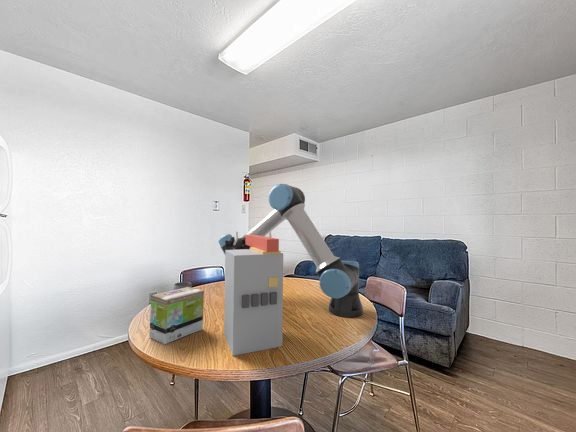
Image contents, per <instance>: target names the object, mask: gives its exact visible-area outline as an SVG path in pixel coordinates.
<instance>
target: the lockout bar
mask: <svg viewBox="0 0 576 432" xmlns="http://www.w3.org/2000/svg"><path fill="white" fill-rule="evenodd" d="M279 239H280V238H274V237H272V238H270V237H266V236H259V235H246V240H245V244H246V245H248V246H251V247H254V248H257V249H260V250H262V251H265V252H279V251H280V248H279V247H280V240H279Z"/></svg>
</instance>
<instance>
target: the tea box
mask: <svg viewBox="0 0 576 432" xmlns="http://www.w3.org/2000/svg"><path fill="white" fill-rule="evenodd" d="M204 292H205V290H202V289H198V288H193V287H192V288H190V287H186V288H181V289H177V290H168V291H163V292H160V293H156V294H152V295H151V297H150V312H149V313H150V315H149V317H150V318H149V335H148V336H149V338H151V339H153V340H154V341H157V342H159V343H161V344H164V345H168V344H169V343H171V342H174V341H176V340H179V339H181V338H185V337H186V336H188V335H191V334H194V333H196V332H199V331H202V330H203V327H204V325H203V324H204V302H205V301H204V299H205V297H204V295H205V293H204Z"/></svg>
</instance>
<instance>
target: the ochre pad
mask: <svg viewBox="0 0 576 432" xmlns="http://www.w3.org/2000/svg"><path fill="white" fill-rule="evenodd" d="M250 249H251V250H253V251H256V252H258V253H261V254H281V253H282V252H281V250H279V252H265V251H262V250H260V249H257V248H254V247H250Z"/></svg>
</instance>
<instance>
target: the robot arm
mask: <svg viewBox="0 0 576 432" xmlns="http://www.w3.org/2000/svg"><path fill="white" fill-rule="evenodd" d="M305 202H306V196H305V193H304V192H303V191H302V190H301V189H300V188H298V187H296V186H293V185H289V184H287V183H279V184H276V185H275V186H273V187H272V188H271V189H270V191H269V194H268V203H269V206H270V207H271V208H272V209H273V210H272V211H271V212H270V213H269V214H267V215H266V216H265V217H264V218H262V220H260V221H259V222H258V223H257V224H256V225H254V226H253V227H252V228H251V229H249V231H248V232H246V234H244V235H243V236H242V237H239V232H238V231H235V233H234V236H232V234H230V233H227V234H224V235H223V236H221V237H220V238H219V240H218V244H219V246H220V249H221V250H222V252H223V254H224V255H225V250H241V249H250V247H251V246H248V245H246V244H245V240H246V235H259V236H265V237H270V238H273V237H272V231H273V230H275V228H277V227H278V226H279V225H281V223H282V222H284V221H285V220H287V221H288V223H289V224H290V226H291V228H292V229H293V231H294V232H295V234H296V236H297V237H298V239H299V241H300V243H301V244H302V246H303V247H304V248H305V251H306V252H307V254H308V255H309V257H310V258H311V260H312V262H313V263H314V265H315V266H316V269H315V274H316V275H317V277H318V279H319V286H320V287H319V288H320V290H321V291H322V292H323V294H324V295H326V296H327V297H329V298H330V300H329V303H328V312H329V313H330V314H332V315H334V316H338V317H341V316H342V317H343V318H356V317H355V316H358V317H361V316H362V315H363V313H364V312H363V311H364V307H363V304H362V301H361V297H360V293H359V292H360V264H359V262H358V261H355V260H341V258H340V257H339V256H335V255H334V253H333V252H332V251H331V249H330V248H329V246H328V244H327V243H326V241H325V240H324V238H323V236H322V235H321V234H320V232H319V231H318V229H317V228H316V226H315V224H314V223H313V221H312V220H311V218H310V217H309V215H308V213H307V212H306V210H305V207H306V203H305ZM360 315H361V316H360Z"/></svg>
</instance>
